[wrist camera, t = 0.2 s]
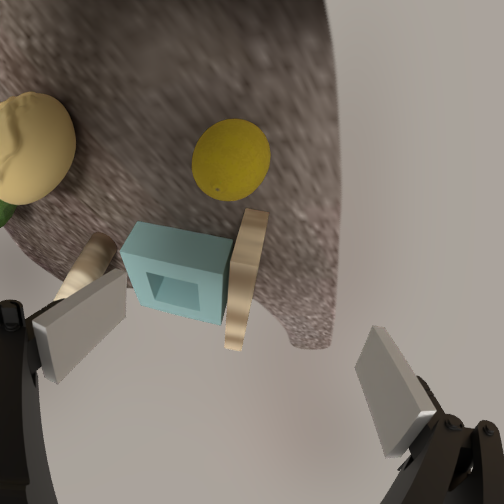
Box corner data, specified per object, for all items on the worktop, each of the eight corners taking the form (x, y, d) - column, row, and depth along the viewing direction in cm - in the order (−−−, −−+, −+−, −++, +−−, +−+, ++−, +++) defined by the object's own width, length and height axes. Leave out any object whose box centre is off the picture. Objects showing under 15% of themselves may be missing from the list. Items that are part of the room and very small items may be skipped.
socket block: (137, 220, 33) (119, 251, 30) (233, 239, 33) (222, 274, 29) (152, 278, 42) (140, 305, 39) (228, 295, 42) (220, 325, 38)
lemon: (202, 145, 24) (167, 201, 19) (226, 94, 20) (191, 135, 15) (257, 172, 25) (239, 234, 20) (288, 124, 21) (278, 177, 16)
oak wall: (245, 207, 29) (230, 261, 24) (269, 212, 29) (258, 266, 24) (234, 307, 44) (224, 347, 39) (249, 310, 44) (241, 351, 39)
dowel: (88, 229, 36) (40, 311, 27) (112, 235, 36) (64, 322, 27) (96, 249, 39) (55, 327, 30) (120, 255, 39) (79, 338, 30)
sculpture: (60, 59, 18) (-25, 108, 11) (105, 153, 26) (43, 223, 19) (10, 103, 21) (-53, 154, 14) (49, 175, 29) (-1, 234, 22)
